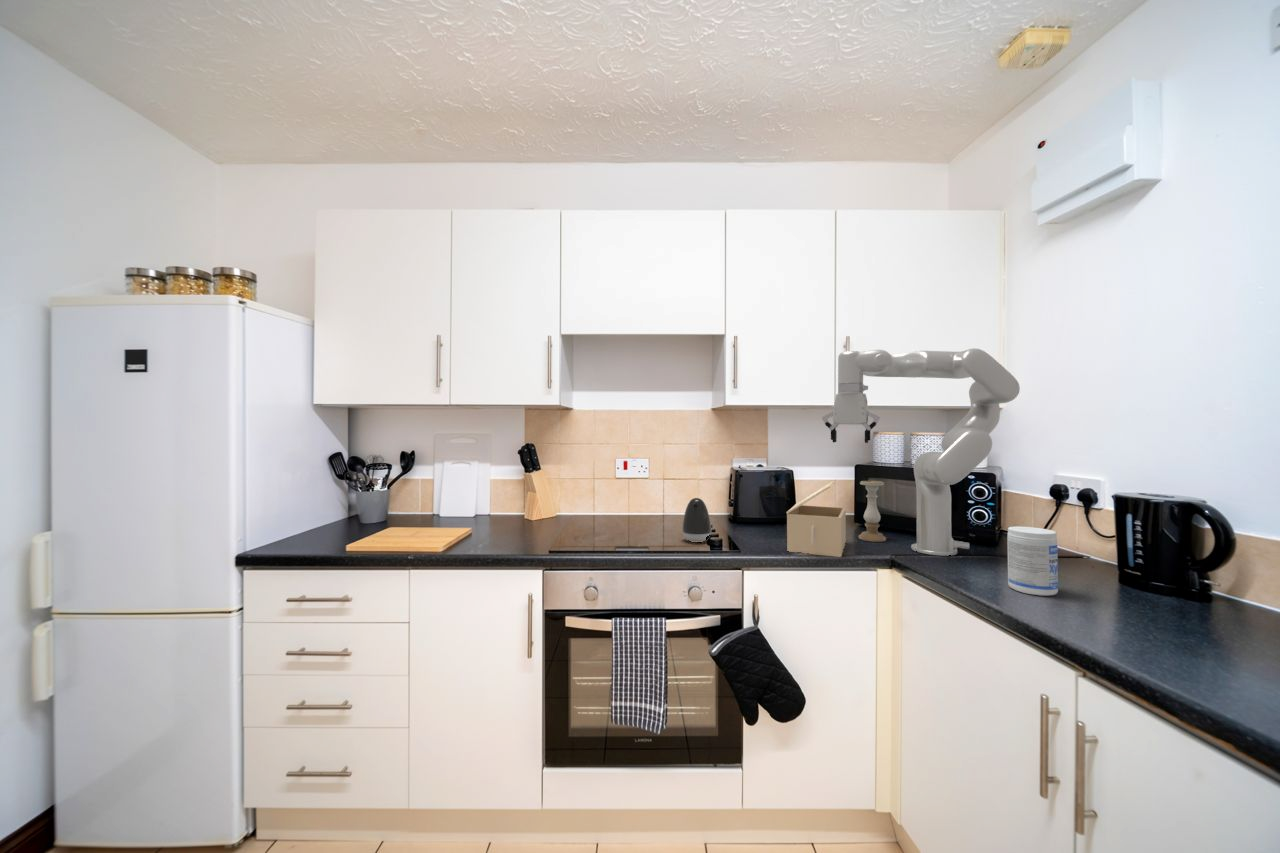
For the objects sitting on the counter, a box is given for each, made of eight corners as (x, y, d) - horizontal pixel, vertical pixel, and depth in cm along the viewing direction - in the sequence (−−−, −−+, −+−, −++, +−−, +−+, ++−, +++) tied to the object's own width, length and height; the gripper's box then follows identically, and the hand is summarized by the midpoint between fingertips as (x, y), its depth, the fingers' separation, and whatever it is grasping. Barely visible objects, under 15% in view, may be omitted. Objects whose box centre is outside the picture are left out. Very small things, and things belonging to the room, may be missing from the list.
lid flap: (836, 480, 170) (835, 479, 170) (830, 487, 152) (829, 485, 152) (796, 505, 176) (795, 503, 176) (787, 514, 158) (785, 512, 158)
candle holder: (857, 540, 172) (857, 482, 172) (859, 535, 180) (859, 480, 180) (885, 543, 168) (885, 483, 168) (886, 538, 176) (886, 481, 176)
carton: (845, 543, 169) (845, 508, 169) (840, 560, 147) (839, 520, 147) (797, 538, 176) (796, 505, 176) (784, 554, 154) (784, 516, 154)
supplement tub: (1063, 599, 113) (1062, 535, 113) (1011, 593, 117) (1011, 531, 118) (1052, 587, 121) (1051, 527, 121) (1004, 581, 126) (1004, 524, 126)
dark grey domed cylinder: (679, 544, 169) (679, 499, 169) (684, 537, 179) (684, 495, 179) (709, 545, 166) (709, 500, 166) (712, 538, 176) (712, 496, 176)
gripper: (881, 389, 159) (880, 442, 159) (824, 391, 168) (824, 441, 168) (878, 388, 152) (878, 443, 152) (820, 390, 161) (820, 442, 161)
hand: (850, 442), depth 160 cm, fingers open, 9 cm apart
